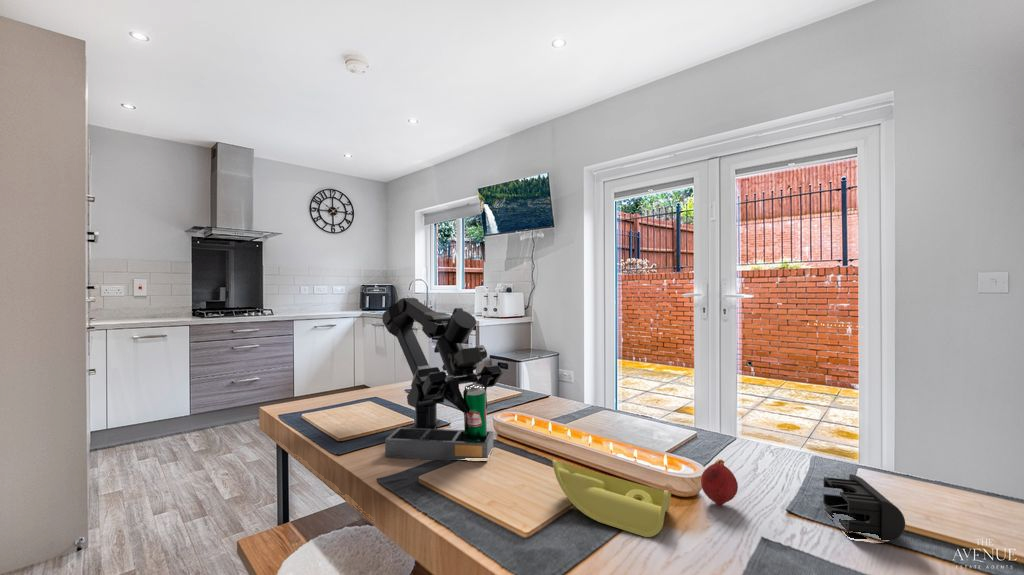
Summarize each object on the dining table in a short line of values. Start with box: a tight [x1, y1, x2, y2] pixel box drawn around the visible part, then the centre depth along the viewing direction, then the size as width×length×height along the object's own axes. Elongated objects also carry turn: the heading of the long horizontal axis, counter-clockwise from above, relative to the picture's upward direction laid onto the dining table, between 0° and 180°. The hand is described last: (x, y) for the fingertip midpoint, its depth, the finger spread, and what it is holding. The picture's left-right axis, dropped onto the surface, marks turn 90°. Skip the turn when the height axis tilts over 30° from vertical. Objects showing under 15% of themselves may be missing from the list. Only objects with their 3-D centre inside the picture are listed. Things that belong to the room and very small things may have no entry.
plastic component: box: [552, 459, 672, 538], centre depth 77 cm, size 20×7×10 cm
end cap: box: [822, 473, 906, 541], centre depth 71 cm, size 10×7×7 cm
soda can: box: [462, 383, 488, 441], centre depth 101 cm, size 5×5×12 cm
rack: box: [384, 427, 494, 461], centre depth 102 cm, size 8×23×4 cm, turn 83°
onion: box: [700, 458, 739, 506], centre depth 79 cm, size 6×6×8 cm
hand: (476, 411), depth 100 cm, fingers closed on soda can, 5 cm apart
